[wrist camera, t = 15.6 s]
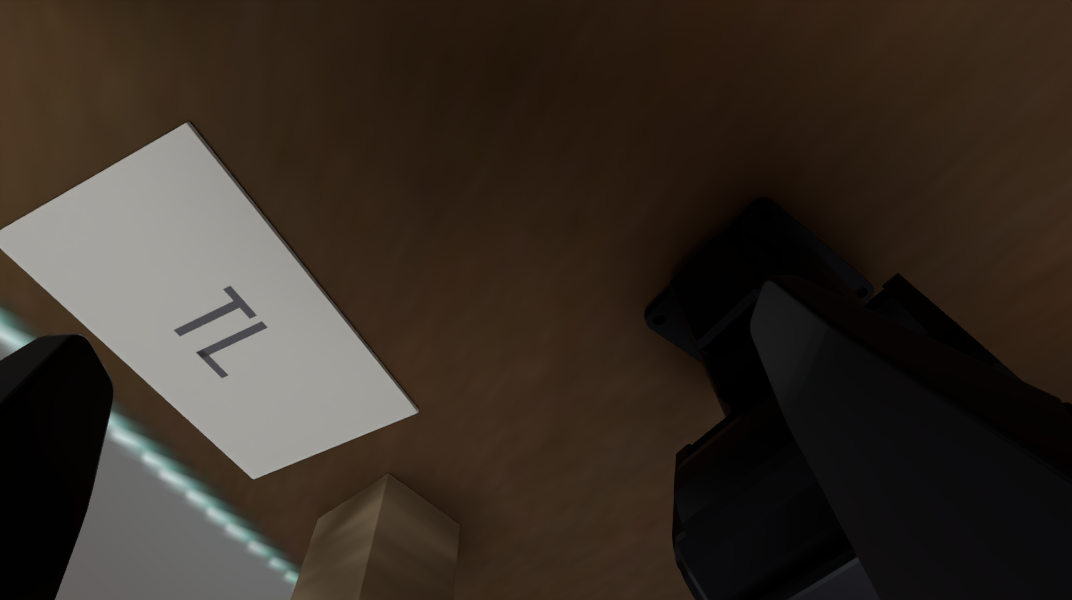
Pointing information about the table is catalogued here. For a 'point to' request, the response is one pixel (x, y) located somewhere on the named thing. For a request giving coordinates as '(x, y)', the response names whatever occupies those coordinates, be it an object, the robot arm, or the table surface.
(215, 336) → the tile
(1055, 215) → the table surface
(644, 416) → the table surface
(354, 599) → the oak block
